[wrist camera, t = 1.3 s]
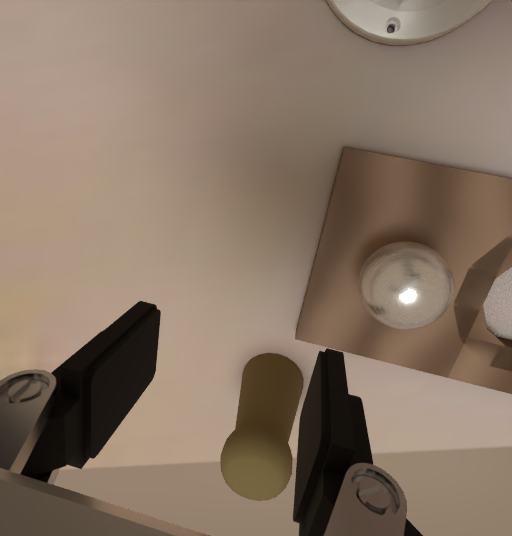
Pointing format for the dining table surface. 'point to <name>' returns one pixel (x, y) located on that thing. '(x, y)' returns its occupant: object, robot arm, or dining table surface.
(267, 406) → the cork
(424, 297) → the ball
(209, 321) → the dining table surface
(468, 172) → the board
